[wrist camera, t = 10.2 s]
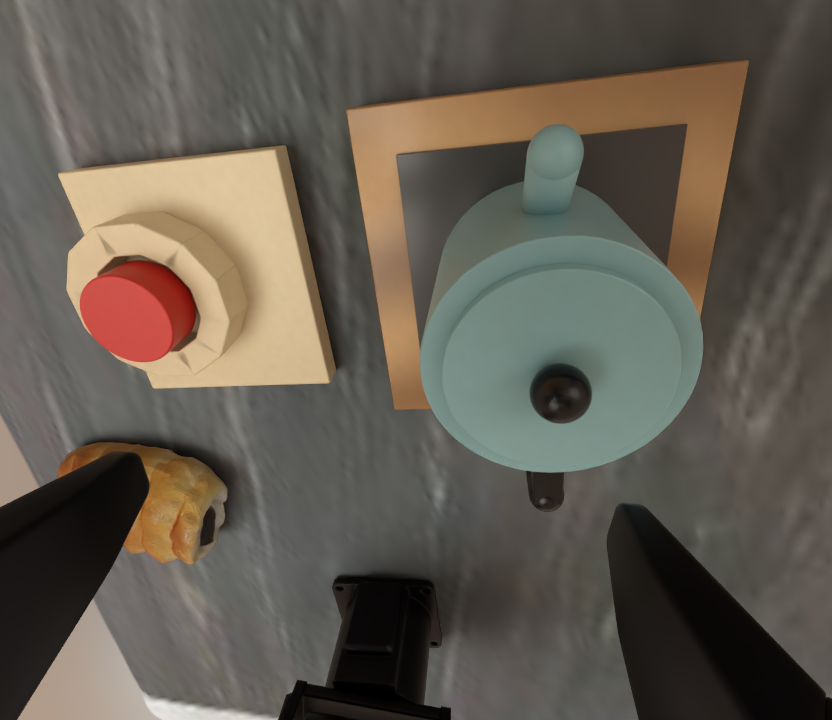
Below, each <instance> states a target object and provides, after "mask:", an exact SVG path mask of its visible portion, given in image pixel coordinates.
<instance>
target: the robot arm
mask: <svg viewBox="0 0 832 720" xmlns="http://www.w3.org/2000/svg"><path fill="white" fill-rule="evenodd" d="M149 488H150V483H149V479H148V476H147V474H146V471H145V468H144V465H143V462H142V459H141V456H140V455H139V454H138V453H136V452H133V451H123V450H116V451H112V452H110V453H108V454H106V455H104V456H102V457H100V458H98V459H96V460H94V461H92V462H90V463H88V464H86V465H84V466H82V467H80V468H78V469H76V470H74V471H72V472H70V473H68V474H66V475H64V476H62V477H60V478H58V479H56V480H54V481H52V482H50V483H48V484H46V485H44V486H42V487H40V488H38V489H36V490H34V491H32V492H30V493H28V494H26V495H24V496H22V497H20V498H18V499H16V500H14V501H12V502H10V503H8V504H6V505H4V506H2V507H0V720H17V719H18V717H19V716H20V714H21V713H22V711H23V709H24V708H25V706H26V705H27V703H28V701H29V700H30V698H31V696H32V695H33V693H34V692H35V690H36V689H37V687H38V685H39V684H40V682H41V680H42V679H43V677H44V676H45V674H46V672H47V671H48V669H49V667H50V666H51V664H52V663H53V661H54V660H55V658H56V656H57V655H58V653H59V652H60V650H61V648H62V647H63V645H64V643H65V642H66V640H67V639H68V637H69V636H70V634H71V632H72V631H73V629H74V628H75V626H76V624H77V623H78V621H79V620H80V618H81V616H82V615H83V613H84V612H85V610H86V608H87V607H88V605H89V603H90V602H91V600H92V599H93V597H94V595H95V594H96V592H97V591H98V589H99V587H100V586H101V584H102V583H103V581H104V579H105V578H106V576H107V574H108V573H109V571H110V569H111V567H112V566H113V564H114V562H115V560H116V558H117V556H118V554H119V552H120V550H121V548H122V546H123V544H124V542H125V540H126V538H127V536H128V534H129V532H130V530H131V528H132V526H133V524H134V522H135V520H136V518H137V516H138V514H139V512H140V510H141V508H142V506H143V504H144V502H145V500H146V498H147V496H148V493H149ZM607 551H608V559H609V567H610V575H611V583H612V590H613V598H614V606H615V614H616V621H617V628H618V634H619V639H620V643H621V648H622V652H623V656H624V661H625V665H626V669H627V673H628V677H629V681H630V685H631V690H632V694H633V698H634V702H635V706H636V710H637V714H638V719H639V720H832V699H831V698H829V697H826V693H825V692H824V690H823V689H822V688H821V687H820V686H819V685H818V684H817V683H816V682H815V681H814V680H813V679H812V678H811V677H810V676H809V675H808V674H807V673H806V672H805V671H804V670H803V669H802V668H801V667H800V666H799V665H798V664H797V663H796V662H795V661H794V659H793V658H792V657H791V656H790V655H789V654H788V653H787V652H786V651H785V650H784V649H783V648H782V647H781V646H780V645H779V644H778V643H777V642H776V641H775V640H774V639H773V638H772V637H771V636H770V635H769V634H768V633H767V632H766V631H765V630H764V629H763V628H762V627H761V625H760V624H759V623H758V622H757V621H756V620H755V619H754V618H753V617H752V616H751V615H750V614H749V613H748V612H747V611H746V610H745V609H744V608H743V607H742V606H741V605H740V604H739V603H738V602H737V601H736V600H735V599H734V598H733V597H732V596H731V595H730V594H729V593H728V591H727V590H726V589H725V588H724V587H723V586H722V585H721V584H720V583H719V582H718V581H717V580H716V579H715V578H714V577H713V576H712V575H711V574H710V573H709V572H708V571H707V570H706V569H705V568H704V567H703V566H702V565H701V564H700V563H699V562H698V561H697V560H696V559H695V557H694V556H693V555H692V554H691V553H690V552H689V551H688V550H687V549H686V548H685V547H684V546H683V545H682V544H681V543H680V542H679V541H678V540H677V539H676V538H675V537H674V536H673V535H672V534H671V533H670V532H669V531H668V530H667V529H666V528H665V527H664V526H663V525H662V523H661V522H660V521H659V520H658V519H657V518H656V517H655V516H654V515H653V514H652V513H651V512H650V511H649V510H648V509H647V508H646V507H644V506H643V505H639V504H629V503H620V504H619V505H618V506H617V507H616V510H615V513H614V516H613V519H612V522H611V525H610V528H609V531H608V535H607ZM332 589H333V592H334V595H335V598H336V602H337V605H338V608H339V612H340V615H341V618H342V624H341V628H340V632H339V635H338V639H337V643H336V647H335V651H334V655H333V659H332V662H331V666H330V670H329V674H328V678H327V682H326V686H325V687H323V686H318V685H312V684H307V681H301V680H297V682H296V685H295V687H294V690H293V692H292V693H290V694H287V695H286V697H285V701H284V704H283V707H282V710H281V713H280V716H279V719H278V720H451V708H448V707H442V706H441V708H437V707H432V706H426V705H424V699H425V689H426V678H427V668H428V657H429V648H438V647H440V646H441V643H442V636H441V629H440V622H439V615H438V608H437V601H436V594H435V587H434V584H432V583H431V582H429V581H414V580H385V579H356V578H337V579H335V580H334V583H333V586H332Z"/></svg>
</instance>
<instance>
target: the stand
mask: <svg viewBox="0 0 832 720" xmlns="http://www.w3.org/2000/svg"><path fill="white" fill-rule="evenodd" d="M748 64H749V61H748V60H738V61H719V62H711V63H703V64H695V65H687V66H679V67H671V68H662V69H654V70H646V71H638V72H630V73H622V74H614V75H605V76H597V77H589V78H581V79H573V80H565V81H557V82H549V83H540V84H532V85H524V86H516V87H508V88H500V89H492V90H484V91H475V92H467V93H459V94H451V95H443V96H435V97H427V98H419V99H410V100H402V101H394V102H386V103H378V104H370V105H362V106H357V107H353V108H349V109H347V110H346V113H347V119H348V125H349V132H350V138H351V144H352V150H353V156H354V162H355V168H356V175H357V181H358V187H359V193H360V199H361V205H362V212H363V218H364V224H365V230H366V236H367V242H368V248H369V255H370V261H371V267H372V273H373V279H374V285H375V292H376V298H377V304H378V310H379V316H380V322H381V328H382V335H383V341H384V347H385V353H386V359H387V365H388V372H389V378H390V384H391V390H392V396H393V402H394V408H395V410H413V409H432V408H431V407H430V405H429V403H428V400H427V398H426V395H425V392H424V389H423V385H422V381H421V376H420V360H419V359H420V349H421V342H422V338H423V334H424V329H425V325H426V321H427V316H428V312H429V308H430V303H431V299H432V295H433V290H434V286H435V282H436V277H437V273H438V269H439V265H440V260H441V256H442V252H443V249H444V246H445V244H446V241H447V239H448V237H449V235H450V233H451V232H452V230H453V228H454V227H455V225H456V224H457V223H458V221H459V220H460V219H461V217H462V216H463V215H464V214H465V213H466V212H467V211H468V210H469V209H470V208H471V207H472V206H473V205H475V204H476V203H477V202H478V201H480V200H481V199H482V198H484V197H486V196H487V195H489V194H491V193H492V192H494V191H496V190H499V189H501V188H503V187H505V186H509V185H512V184H515V183H519V182H524V178H525V167H526V157H527V150H528V147H529V144H530V142H531V140H532V139H533V137H534V136H535V135H536V134H537V133H538V132H539V131H540V130H542V129H543V128H545V127H547V126H549V125H553V124H563V125H567V126H569V127H571V128H573V129H574V130H575V131H576V132H577V133H578V134H579V135H580V137H581V139H582V142H583V146H584V155H583V160H582V164H581V167H580V170H579V174H578V177H577V181H576V184H575V185H577V186H579V187H581V188H584V189H586V190H588V191H590V192H591V193H593V194H595V195H596V196H598V197H599V198H600V199H602V200H603V201H604V202H605V203H607V204H608V205H609V206H610V207H611V208H612V210H613V211H614V212H615V213H616V214H617V215H618V216H619V217H620V218H621V219H622V220H623V221H624V222H625V223H626V224H627V225H628V226H629V228H630V229H631V230H632V231H633V232H634V233H635V234H636V235H637V236H638V237H639V238H640V239H641V240H642V241H643V242H644V243H645V244H646V246H647V247H648V248H649V249H650V250H651V251H652V252H653V253H654V254H655V255H656V256H657V257H658V258H659V259H660V260H661V261H662V262H663V264H664V265H665V266H666V267H667V268H668V269H669V270H670V271H671V272H672V273H673V274H674V275H675V277H676V278H677V279H678V280H679V281H680V282H681V283H682V284H683V286H684V287H685V289H686V290H687V292H688V294H689V295H690V297H691V298H692V300H693V303H694V305H695V307H696V310H697V312H698V315H699V318H700V316H701V311H702V305H703V300H704V295H705V290H706V284H707V279H708V274H709V269H710V263H711V258H712V253H713V248H714V242H715V237H716V232H717V227H718V221H719V216H720V211H721V206H722V201H723V195H724V190H725V185H726V180H727V174H728V169H729V164H730V159H731V153H732V148H733V143H734V138H735V132H736V127H737V122H738V117H739V111H740V106H741V101H742V96H743V90H744V85H745V80H746V75H747V69H748Z"/></svg>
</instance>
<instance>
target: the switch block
mask: <svg viewBox="0 0 832 720" xmlns="http://www.w3.org/2000/svg"><path fill="white" fill-rule="evenodd" d="M58 176H59V179H60V181H61V183H62V185H63V187H64V190H65V192H66V194H67V196H68V199H69V201H70V203H71V205H72V208H73V210H74V212H75V214H76V217H77V219H78V221H79V223H80V226H81V228H82V230H83V232H84V234H85V236H84V237H83V238H82V239H81V240H80V241H79V242H78V243H77V244H76V245H75V246H74V247H73V248H72V249H71V250H70V251H69V253H68V269H67V291H68V294H69V296H70V298H71V301H72V303H73V305H74V307H75V309H76V311H77V313H78V315H79V317H80V319H81V321H82V323H83V325H84V327H85V329H87V327H86V325H85V323H84V321H83V319H82V315H81V312H80V296H81V293H82V291H83V289H84V287H85V286H86V285H87V283H88V282H90V281H91V280H92V279H94V278H96V277H98V276H100V275H102V274H104V273H106V272H108V271H110V270H111V269H113V268H115V267H117V266H119V265H121V264H123V263H125V262H128V261H133V260H142V261H149V262H153V263H155V264H158V265H160V266H162V267H164V268H166V269H168V270H169V271H171V272H172V273H173V274H174V275H176V276H177V277H178V278H179V279H180V280H181V281H182V282H183V284H184V285H185V286H186V288H187V289H188V290H189V292H190V294H191V296H192V298H193V301H194V304H195V309H196V320H195V324H194V327H193V329H192V331H191V332H190V334H189V335H188V336H186V337H185V338H184V339H183V340H182V341H181V342H180V343H179V344H177V345H176V346H175V347H174V348H173V349H172V350H171V351H170V352H168V353H167V354H166V355H165V356H164V357H162V358H161V359H158V360H156V361H152V362H134V361H130V360H126V359H123V358H121V357H119V356H117V355H115V354H113V353H112V354H113V355H114V356H115V357H116V358H117V359H120V360H121V361H123V362H125V363H128V364H130V365H133V366H135V367H137V368H140V369H142V370H145V371H146V373H147V375H148V378H149V380H150V382H151V384H152V387H153V388H154V389H156V388H188V387H220V386H253V385H285V384H317V383H330V381H331V379H332V377H333V375H334V373H335V371H336V367H335V362H334V358H333V354H332V349H331V345H330V340H329V336H328V331H327V327H326V322H325V318H324V313H323V309H322V304H321V300H320V295H319V291H318V286H317V282H316V277H315V273H314V268H313V264H312V259H311V255H310V251H309V246H308V242H307V237H306V233H305V228H304V224H303V219H302V215H301V210H300V206H299V201H298V197H297V192H296V188H295V183H294V179H293V174H292V170H291V165H290V161H289V157H288V152H287V148H286V146H285V145H281V146H273V147H264V148H255V149H246V150H237V151H228V152H219V153H210V154H202V155H193V156H184V157H175V158H166V159H157V160H148V161H139V162H131V163H122V164H113V165H104V166H95V167H86V168H78V169H74V170H69V171H65V172H61V173H59V174H58ZM87 331H88V332H89V330H88V329H87ZM89 333H90V332H89ZM90 334H91V333H90Z"/></svg>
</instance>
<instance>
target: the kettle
mask: <svg viewBox="0 0 832 720" xmlns="http://www.w3.org/2000/svg"><path fill="white" fill-rule="evenodd" d="M583 155H584V146H583V142H582V139H581V137H580V135H579V134H578V133H577V132H576V131H575V130H574V129H573V128H571V127H569V126H567V125H563V124H553V125H549V126H547V127H545V128H543V129H542V130H540V131H539V132H538V133H537V134H536V135H535V136H534V137H533V139H532V140H531V142H530V144H529V147H528V150H527V157H526V167H525V178H524V182H519V183H515V184H512V185H509V186H505V187H503V188H501V189H499V190H496V191H494V192H492V193H491V194H489V195H487V196H486V197H484V198H482V199H481V200H480V201H478V202H477V203H476V204H475V205H473V206H472V207H471V208H470V209H469V210H468V211H467V212H466V213H465V214H464V215H463V216H462V217H461V219H460V220H459V221H458V223H457V224H456V225H455V227H454V228H453V230H452V232H451V233H450V235H449V237H448V239H447V241H446V244H445V246H444V249H443V252H442V256H441V260H440V265H439V269H438V273H437V277H436V282H435V286H434V290H433V295H432V299H431V303H430V308H429V312H428V316H427V321H426V325H425V329H424V334H423V338H422V342H421V349H420V359H419V360H420V376H421V381H422V385H423V389H424V392H425V395H426V398H427V400H428V403H429V405H430V407H431V408H432V410H433V412H434V414H435V416H436V417H437V418H438V420H439V421H440V422H441V424H442V425H443V427H444V428H445V429H446V430H447V431H448V432H449V433H450V434H451V435H452V436H453V437H454V438H455V439H456V440H458V441H459V442H460V443H461V444H463V445H464V446H465V447H467V448H468V449H470V450H471V451H473V452H475V453H476V454H478V455H480V456H482V457H484V458H486V459H488V460H490V461H493V462H496V463H498V464H501V465H504V466H507V467H511V468H516V469H520V470H526V472H527V482H528V491H529V498H530V501H531V502H532V504H533V505H534V506H535V507H536V508H537V509H539V510H541V511H544V512H551V511H555V510H556V509H558V508H559V507H560V506H561V505H562V503H563V500H564V490H563V482H564V472H570V471H577V470H584V469H588V468H592V467H596V466H600V465H603V464H606V463H609V462H612V461H615V460H617V459H619V458H621V457H623V456H626V455H628V454H630V453H632V452H633V451H635V450H637V449H639V448H640V447H642V446H644V445H645V444H647V443H648V442H649V441H651V440H652V439H653V438H655V437H656V436H657V435H659V434H660V433H661V432H662V431H663V430H664V429H665V428H666V427H667V426H668V425H669V424H670V423H671V422H672V421H673V420H674V418H675V417H676V416H677V415H678V414H679V412H680V411H681V410H682V408H683V407H684V405H685V403H686V402H687V400H688V399H689V397H690V395H691V393H692V391H693V389H694V386H695V384H696V382H697V379H698V375H699V372H700V368H701V363H702V355H703V332H702V327H701V323H700V318H699V315H698V312H697V310H696V307H695V305H694V303H693V300H692V298H691V297H690V295H689V294H688V292H687V290H686V289H685V287H684V286H683V284H682V283H681V282H680V281H679V280H678V279H677V278H676V277H675V275H674V274H673V273H672V272H671V271H670V270H669V269H668V268H667V267H666V266H665V265H664V264H663V262H662V261H661V260H660V259H659V258H658V257H657V256H656V255H655V254H654V253H653V252H652V251H651V250H650V249H649V248H648V247H647V246H646V244H645V243H644V242H643V241H642V240H641V239H640V238H639V237H638V236H637V235H636V234H635V233H634V232H633V231H632V230H631V229H630V228H629V226H628V225H627V224H626V223H625V222H624V221H623V220H622V219H621V218H620V217H619V216H618V215H617V214H616V213H615V212H614V211H613V210H612V208H611V207H610V206H609V205H608V204H607V203H605V202H604V201H603V200H602V199H600V198H599V197H598V196H596V195H595V194H593V193H591V192H590V191H588V190H586V189H584V188H581V187H579V186H577V185H575V184H576V181H577V177H578V174H579V170H580V167H581V164H582V160H583Z"/></svg>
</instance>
